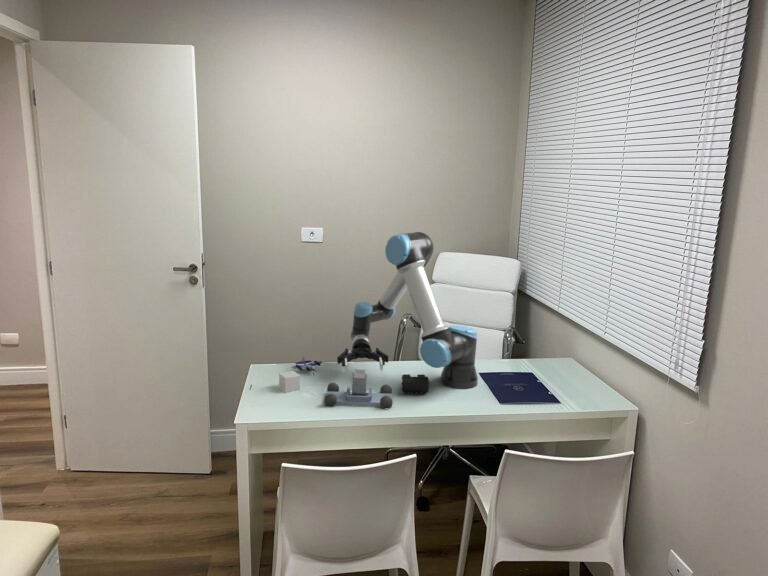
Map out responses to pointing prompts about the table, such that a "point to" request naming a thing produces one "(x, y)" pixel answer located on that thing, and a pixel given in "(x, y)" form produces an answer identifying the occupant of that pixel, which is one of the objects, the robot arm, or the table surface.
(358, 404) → the chassis
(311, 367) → the toy airplane
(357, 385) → the capped grey pillar
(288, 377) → the light grey cube
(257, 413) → the table surface
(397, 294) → the robot arm
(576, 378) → the table surface
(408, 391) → the black arched housing
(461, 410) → the table surface
